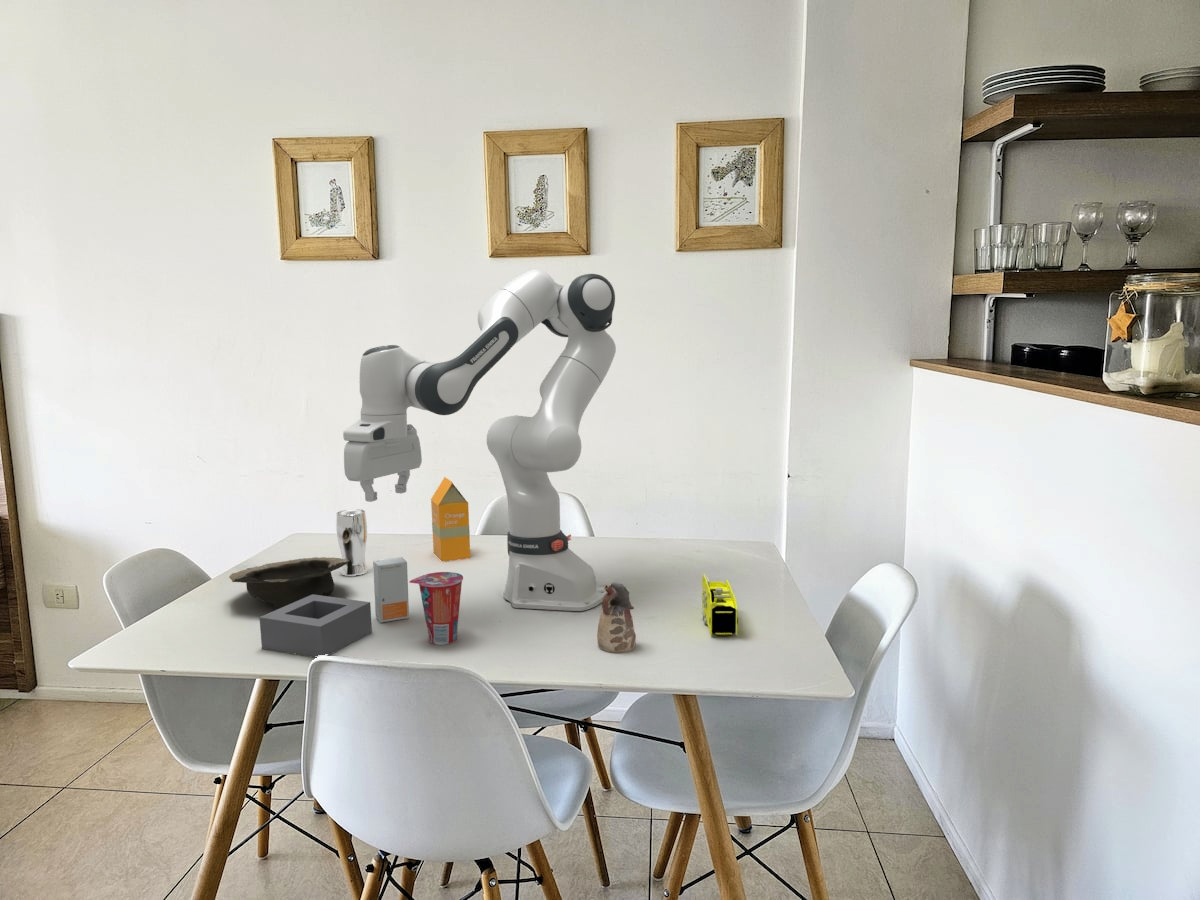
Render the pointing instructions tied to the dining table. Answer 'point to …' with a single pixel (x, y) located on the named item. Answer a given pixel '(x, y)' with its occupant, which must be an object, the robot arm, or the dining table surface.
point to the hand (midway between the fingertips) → (386, 496)
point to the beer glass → (352, 540)
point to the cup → (441, 605)
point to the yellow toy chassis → (719, 607)
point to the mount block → (315, 625)
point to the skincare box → (391, 589)
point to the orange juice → (450, 523)
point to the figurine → (616, 621)
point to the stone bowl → (290, 579)
